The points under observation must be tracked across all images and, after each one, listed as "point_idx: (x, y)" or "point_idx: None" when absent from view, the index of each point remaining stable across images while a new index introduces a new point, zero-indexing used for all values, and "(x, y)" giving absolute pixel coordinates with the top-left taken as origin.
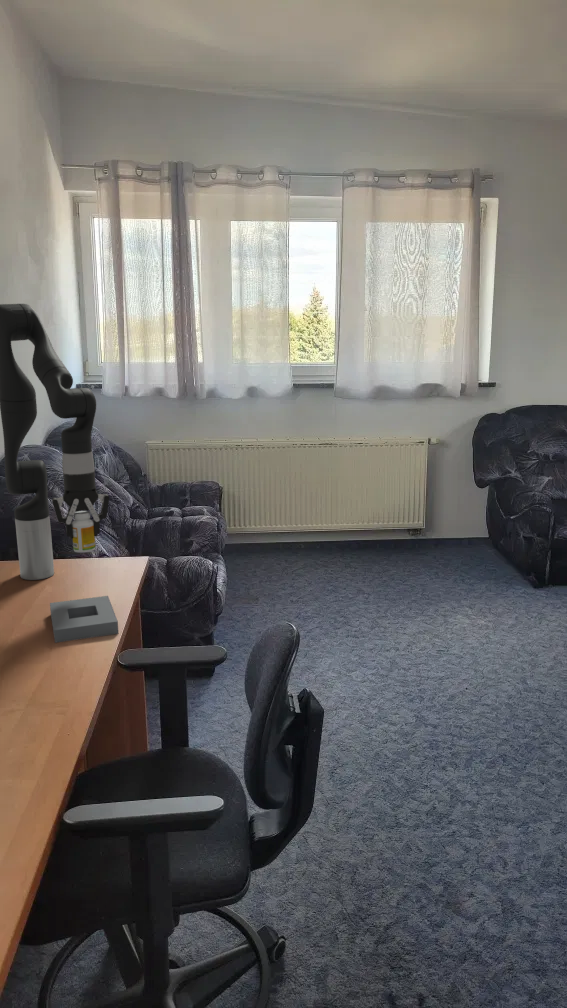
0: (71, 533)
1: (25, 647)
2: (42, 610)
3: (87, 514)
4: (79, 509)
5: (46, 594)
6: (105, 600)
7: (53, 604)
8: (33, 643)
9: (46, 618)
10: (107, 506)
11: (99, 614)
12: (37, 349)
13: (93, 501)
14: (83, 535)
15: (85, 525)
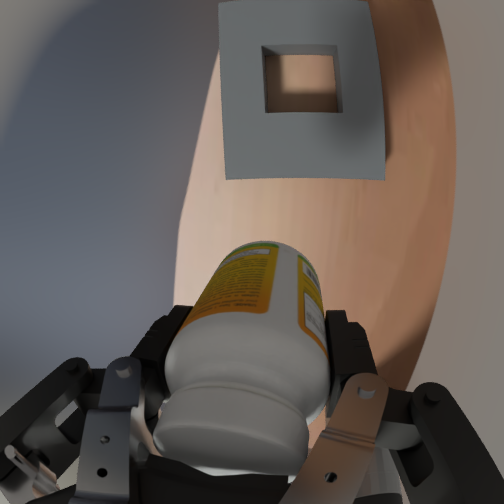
0: (337, 327)
1: (415, 23)
2: (390, 213)
3: (168, 417)
4: (238, 490)
5: (365, 313)
6: (235, 142)
7: (377, 163)
8: (403, 31)
9: (386, 155)
10: (15, 408)
11: (258, 47)
12: None
13: (65, 498)
14: (257, 281)
15: (220, 324)
